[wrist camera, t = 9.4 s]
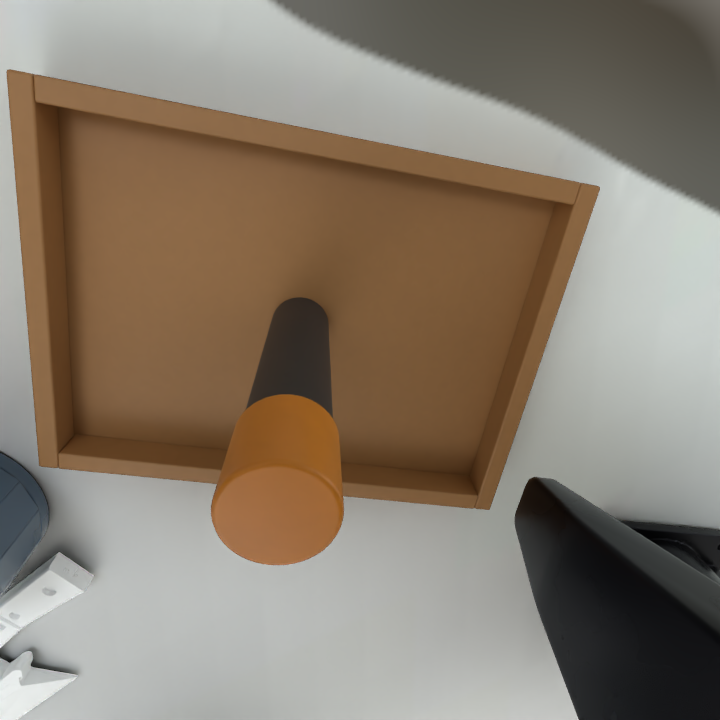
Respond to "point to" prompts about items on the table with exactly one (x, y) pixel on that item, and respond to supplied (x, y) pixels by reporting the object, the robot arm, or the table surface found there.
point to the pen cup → (19, 519)
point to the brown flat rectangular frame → (277, 288)
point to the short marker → (284, 448)
